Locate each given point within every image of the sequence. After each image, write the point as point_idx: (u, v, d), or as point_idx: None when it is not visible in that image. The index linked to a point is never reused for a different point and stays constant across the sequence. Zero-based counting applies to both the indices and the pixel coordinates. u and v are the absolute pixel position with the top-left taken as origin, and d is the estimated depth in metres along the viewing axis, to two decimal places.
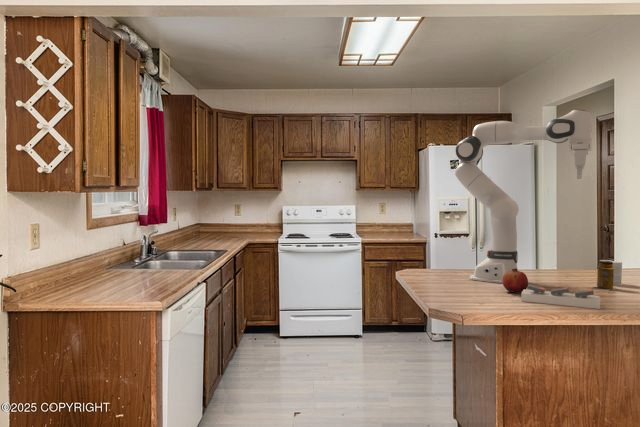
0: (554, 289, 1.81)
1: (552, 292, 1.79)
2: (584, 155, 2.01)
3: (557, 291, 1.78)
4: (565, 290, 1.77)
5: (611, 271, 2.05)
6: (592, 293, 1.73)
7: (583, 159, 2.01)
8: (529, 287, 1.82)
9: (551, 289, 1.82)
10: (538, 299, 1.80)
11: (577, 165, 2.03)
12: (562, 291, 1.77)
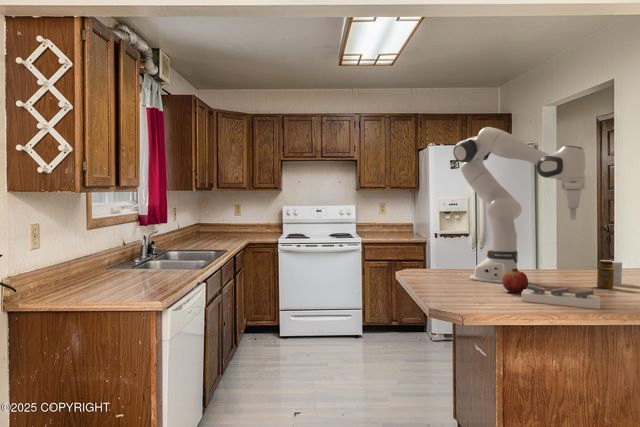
0: (554, 289, 1.81)
1: (552, 292, 1.79)
2: (578, 196, 1.86)
3: (557, 291, 1.78)
4: (565, 290, 1.77)
5: (611, 271, 2.05)
6: (592, 293, 1.73)
7: (577, 200, 1.86)
8: (529, 287, 1.82)
9: (551, 289, 1.82)
10: (538, 299, 1.80)
11: (571, 207, 1.87)
12: (562, 291, 1.77)
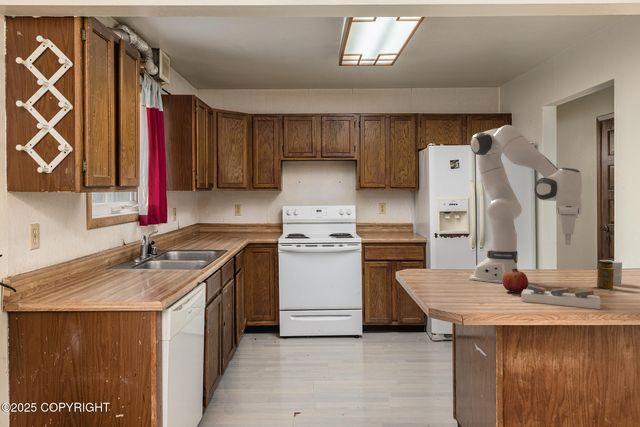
0: (554, 289, 1.81)
1: (552, 292, 1.79)
2: (573, 222, 1.78)
3: (557, 291, 1.78)
4: (565, 290, 1.77)
5: (611, 271, 2.05)
6: (592, 293, 1.73)
7: (572, 226, 1.78)
8: (529, 287, 1.82)
9: (551, 289, 1.82)
10: (538, 299, 1.80)
11: (565, 233, 1.79)
12: (562, 291, 1.77)
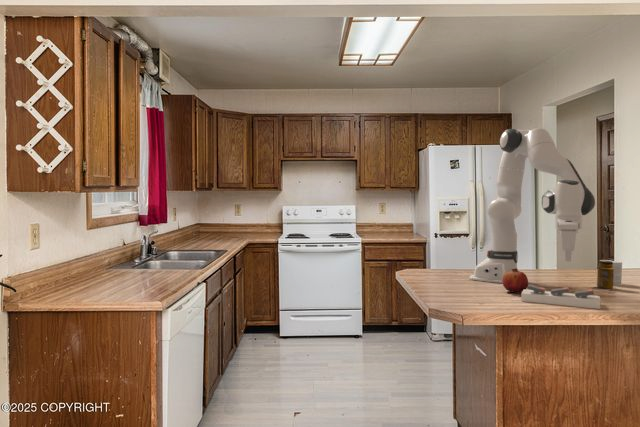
0: (554, 289, 1.81)
1: (552, 292, 1.79)
2: (573, 238, 1.68)
3: (557, 291, 1.78)
4: (565, 290, 1.77)
5: (611, 271, 2.05)
6: (592, 293, 1.73)
7: (572, 242, 1.68)
8: (529, 287, 1.82)
9: (551, 289, 1.82)
10: (538, 299, 1.80)
11: (565, 249, 1.69)
12: (562, 291, 1.77)
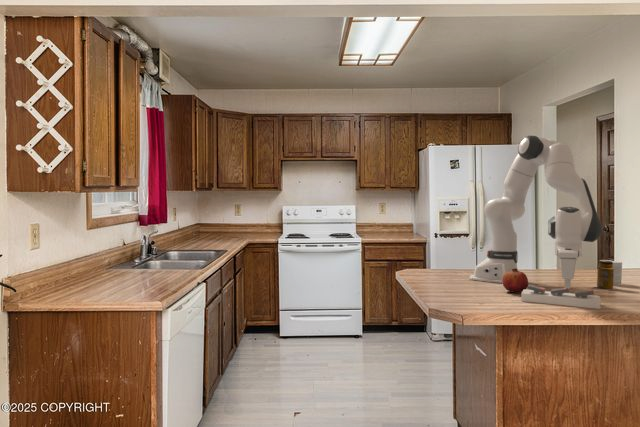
0: (554, 289, 1.81)
1: (552, 292, 1.79)
2: (573, 266, 1.68)
3: (557, 291, 1.78)
4: (565, 290, 1.77)
5: (611, 271, 2.05)
6: (592, 293, 1.73)
7: (571, 271, 1.68)
8: (529, 287, 1.82)
9: (551, 289, 1.82)
10: (538, 299, 1.80)
11: (565, 278, 1.70)
12: (562, 291, 1.77)
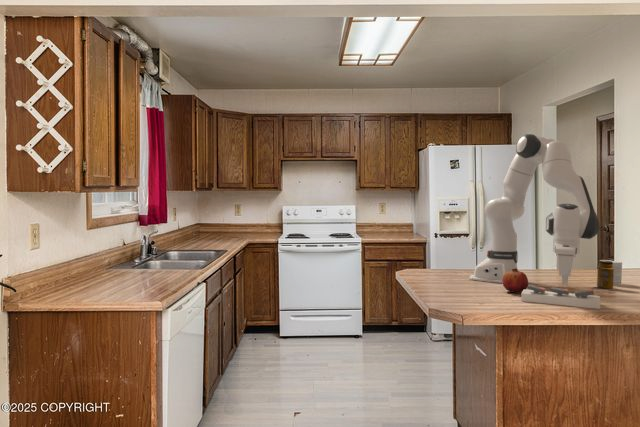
0: (555, 288, 1.81)
1: (552, 290, 1.79)
2: (570, 263, 1.69)
3: (557, 290, 1.78)
4: (565, 292, 1.77)
5: (611, 271, 2.05)
6: (592, 293, 1.73)
7: (568, 268, 1.69)
8: (529, 287, 1.82)
9: (551, 287, 1.82)
10: (538, 299, 1.80)
11: (561, 274, 1.70)
12: (562, 292, 1.77)
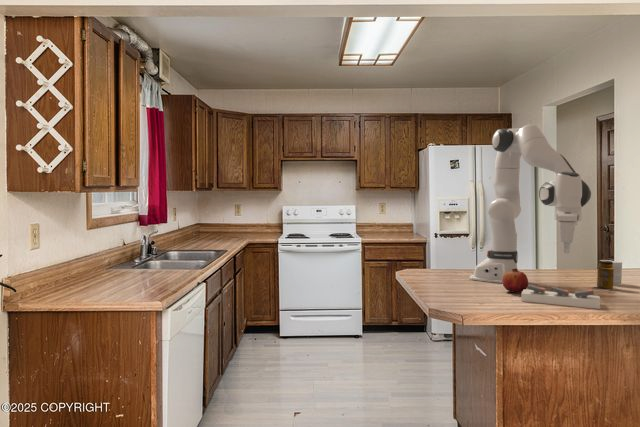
0: (555, 287, 1.81)
1: (552, 289, 1.79)
2: (572, 229, 1.68)
3: (557, 290, 1.78)
4: (565, 292, 1.77)
5: (611, 271, 2.05)
6: (592, 293, 1.73)
7: (570, 234, 1.68)
8: (529, 287, 1.82)
9: (552, 286, 1.82)
10: (538, 299, 1.80)
11: (563, 241, 1.70)
12: (562, 292, 1.77)
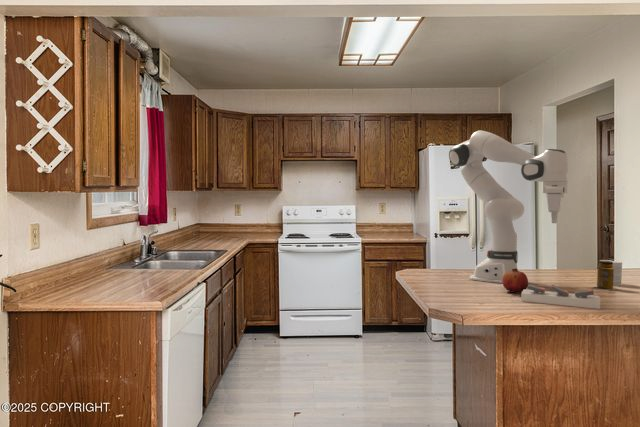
0: (555, 287, 1.80)
1: (552, 288, 1.79)
2: (558, 200, 1.84)
3: (557, 290, 1.78)
4: (565, 293, 1.77)
5: (611, 271, 2.05)
6: (592, 293, 1.73)
7: (557, 204, 1.84)
8: (529, 287, 1.82)
9: (552, 285, 1.82)
10: (538, 299, 1.80)
11: (551, 211, 1.85)
12: (562, 292, 1.77)
